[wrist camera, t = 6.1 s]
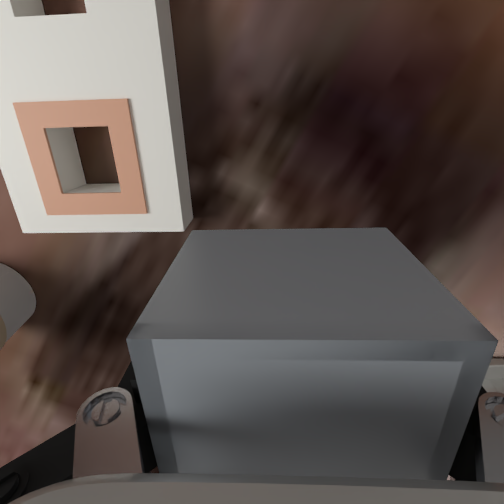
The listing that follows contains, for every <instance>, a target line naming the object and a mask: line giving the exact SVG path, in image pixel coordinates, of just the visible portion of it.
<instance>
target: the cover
mask: <svg viewBox="0 0 504 504" xmlns="http://www.w3.org/2000/svg"><path fill="white" fill-rule="evenodd" d="M126 341H127V345H128V349H129V353H130V357H131V361H132V365H133V369H134V373H135V377H136V381H137V385H138V389H139V393H140V397H141V401H142V405H143V409H144V413H145V417H146V421H147V425H148V429H149V433H150V437H151V441H152V445H153V450H154V454H155V458H156V462H157V466H158V470H159V473H187V474H235V475H280V476H319V477H356V478H389V479H420V480H447V477H448V474H449V472H450V469H451V466H452V464H453V461H454V458H455V456H456V453H457V450H458V448H459V445H460V442H461V440H462V437H463V434H464V432H465V429H466V426H467V424H468V421H469V418H470V415H471V413H472V410H473V407H474V405H475V402H476V399H477V397H478V394H479V391H480V389H481V386H482V383H483V381H484V378H485V375H486V373H487V370H488V367H489V365H490V362H491V359H492V357H493V354H494V351H495V348H496V346H497V343H498V340H497V339H496V338H495V337H494V336H493V335H492V334H491V333H490V332H489V331H488V330H487V329H486V328H485V327H484V326H483V325H482V324H481V323H480V322H479V321H478V320H477V319H476V318H475V317H474V316H473V315H472V314H471V313H470V312H469V311H468V310H467V309H466V308H465V307H464V306H463V305H462V304H461V303H460V302H459V301H458V300H457V299H456V298H455V297H454V296H453V295H452V294H451V293H450V292H449V291H448V290H447V289H446V288H445V287H444V286H443V285H442V284H441V283H440V282H439V281H438V280H437V279H436V277H435V276H434V275H433V274H432V273H431V272H430V271H429V270H428V269H427V268H426V267H425V266H424V265H423V264H422V263H421V262H420V261H419V260H418V259H417V258H416V257H415V256H414V255H413V254H412V253H411V252H410V251H409V250H408V249H407V248H406V247H405V246H404V245H403V244H402V243H401V242H400V241H399V240H398V239H397V238H396V237H395V236H394V235H393V234H392V233H391V232H390V231H389V230H388V229H387V228H327V229H251V230H192V232H191V233H190V235H189V237H188V238H187V240H186V241H185V243H184V245H183V246H182V248H181V250H180V251H179V253H178V255H177V256H176V258H175V260H174V261H173V263H172V264H171V266H170V268H169V269H168V271H167V273H166V274H165V276H164V278H163V279H162V281H161V283H160V284H159V286H158V287H157V289H156V291H155V292H154V294H153V296H152V297H151V299H150V301H149V302H148V304H147V306H146V307H145V309H144V310H143V312H142V314H141V315H140V317H139V319H138V320H137V322H136V324H135V325H134V327H133V329H132V330H131V332H130V334H129V335H128V337H127V338H126Z"/></svg>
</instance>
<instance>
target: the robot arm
mask: <svg viewBox="0 0 504 504" xmlns="http://www.w3.org/2000/svg"><path fill="white" fill-rule="evenodd" d="M156 466H157V462H156V458H155V454H154V450H153V445H152V441H151V437H150V433H149V429H148V425H147V421H146V417H145V413H144V409H143V405H142V401H141V397H140V393H139V389H138V385H137V381H136V377H135V373H134V369H133V365H132V361H131V363H130V365H129V367H128V368H127V370H126V372H125V374H124V376H123V378H122V380H121V382H120V383H119V385H118V387H112V388H107V389H103V390H101V391H99V392H97V393H95V394H93V395H92V396H91V397H89V398H88V399H87V400H86V401H85V402H84V403H83V404H82V405H81V407H80V409H79V410H78V412H77V416H76V424H74V425H72V426H71V427H69V428H67V429H66V430H64V431H62V432H60V433H59V434H57V435H55V436H54V437H52V438H50V439H49V440H47V441H45V442H43V443H42V444H40V445H38V446H37V447H35V448H33V449H32V450H30V451H28V452H26V453H25V454H23V455H21V456H20V457H18V458H16V459H15V460H13V461H11V462H9V463H8V464H6V465H4V466H3V467H1V468H0V504H504V359H497V358H492V359H491V362H490V365H489V367H488V370H487V373H486V375H485V378H484V381H483V383H482V386H481V389H480V391H479V394H478V397H477V399H476V402H475V405H474V407H473V410H472V413H471V415H470V418H469V421H468V424H467V426H466V429H465V432H464V434H463V437H462V440H461V442H460V445H459V448H458V450H457V453H456V456H455V458H454V461H453V464H452V466H451V469H450V472H449V474H448V475H450V480H420V479H389V478H356V477H319V476H280V475H235V474H187V473H151V470H152V469H154V468H155V467H156Z"/></svg>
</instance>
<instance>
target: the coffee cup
mask: <svg viewBox="0 0 504 504" xmlns="http://www.w3.org/2000/svg"><path fill="white" fill-rule="evenodd" d="M35 308H36V298H35V294H34V292H33V290H32V288H31V286H30V285H29V283H28V282H27V281H26V280H25V279H24V278H23V277H22V276H21V275H20V274H19V273H18V272H16V271H15V270H14V269H12V268H10V267H8V266H6V265H4V264H2V263H0V350H1V349H2V347H3V346H4V344H5V342H6V341H7V340H8V339H9V338H10V337H11V336H12V335H13V334H14V333H15V332H16V331H17V330H18V329H19V328H20V327H21V326H22V325H23V324H24V323H25V322H26V321H27V320H28V319H29V318H30V317H31V316H32V315H33V313H34V311H35Z"/></svg>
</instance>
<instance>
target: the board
mask: <svg viewBox="0 0 504 504" xmlns="http://www.w3.org/2000/svg"><path fill="white" fill-rule="evenodd" d="M84 2H85V7H86V12H87V13H81V14H62V15H45V13H44V8H43V4H42V0H0V168H1V171H2V174H3V177H4V180H5V182H6V185H7V188H8V191H9V194H10V197H11V200H12V203H13V205H14V208H15V211H16V214H17V217H18V220H19V223H20V225H21V228H22V231H23V233H79V232H176V231H185V229H186V228H187V226H188V225H189V223H190V222H191V221H192V219H193V212H192V203H191V194H190V185H189V176H188V167H187V158H186V149H185V140H184V131H183V122H182V113H181V104H180V95H179V86H178V77H177V68H176V59H175V50H174V41H173V32H172V23H171V14H170V5H169V0H84ZM95 126H108V129H109V134H110V139H111V144H112V149H113V154H114V159H115V164H116V169H117V174H118V179H119V183H110V184H86V180H85V176H84V172H83V168H82V164H81V160H80V156H79V152H78V148H77V143H76V139H75V135H74V131H73V127H95Z"/></svg>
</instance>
